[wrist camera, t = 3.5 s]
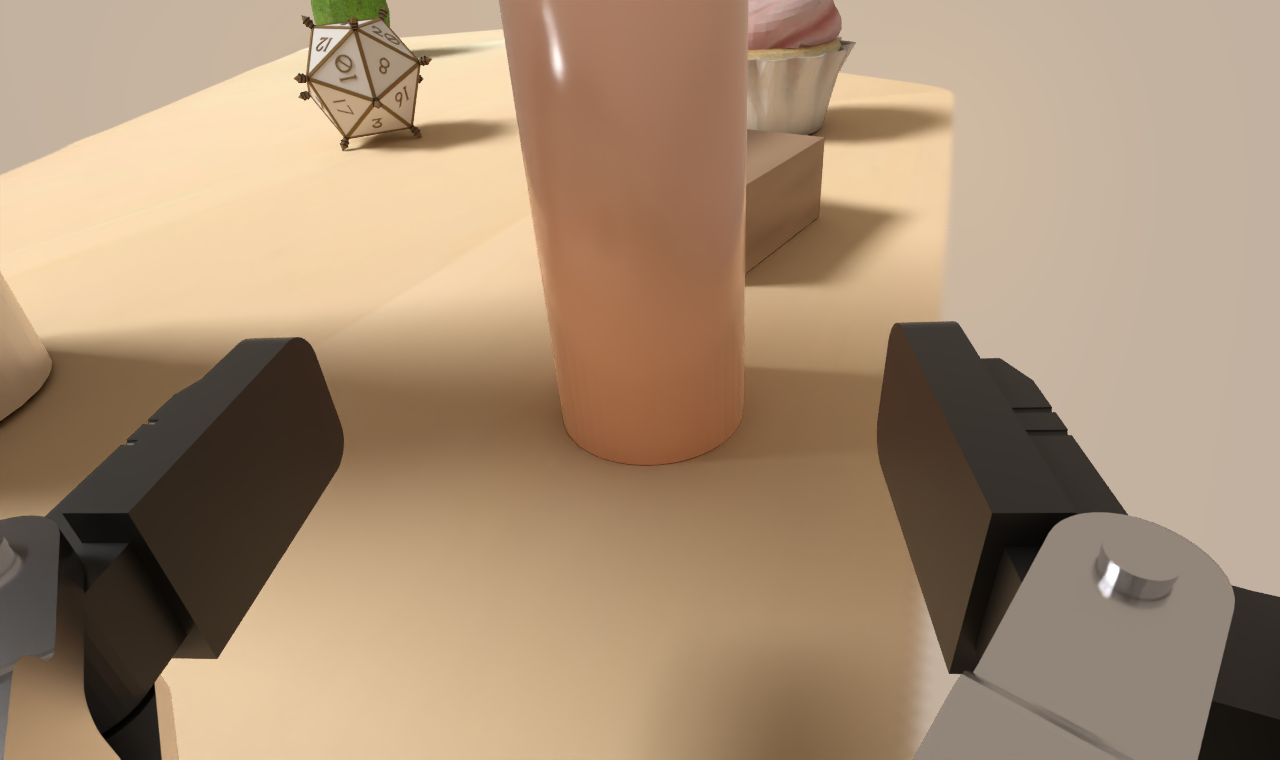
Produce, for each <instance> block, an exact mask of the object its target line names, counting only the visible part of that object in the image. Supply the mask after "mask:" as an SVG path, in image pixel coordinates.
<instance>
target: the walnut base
mask: <svg viewBox="0 0 1280 760" xmlns="http://www.w3.org/2000/svg"><path fill="white" fill-rule="evenodd" d="M824 138H825V137H818V136H808V135H799V134H789V133H779V132H769V131H760V130H750V129H747V166H746V247H745V274H746V273H747V272H748V271H750V270H751V269H752V268H753V267H755V266H756V265H757V264H759V263H760V262H761V261H762V260H764V259H765V258H766V257H768V256H769V255H770V254H771V253H773V252H774V251H775V250H777V249H778V248H779V247H780V246H782V245H783V244H784V243H786V242H787V241H788V240H789V239H791V238H792V237H793V236H795V235H796V234H797V233H798V232H800V231H801V230H802V229H804V228H805V227H806V226H807V225H809V224H810V223H811V222H813V221H814V220H815V219H816V218H818V217H819V210H820V195H821V181H822V167H823V152H824Z"/></svg>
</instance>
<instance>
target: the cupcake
mask: <svg viewBox="0 0 1280 760" xmlns="http://www.w3.org/2000/svg"><path fill="white" fill-rule="evenodd" d="M840 31H841V16H840V14H839V12H838V10H837V8H836V7H835V5H834V2H833V0H749V4H748V85H747V129H750V130H760V131H769V132H779V133H789V134H799V135H809V134H811V133H813V132H816V131H817V130H819V129H820V127H821V126H822V124H823V122H824V119H825V115H826V112H827V108H828V105H829V101H830V97H831V94H832V91H833V88H834V85H835V82H836V79H837V75H838V73H839V71H840V69H841V68H842V66H843V64H844V62H845V61H846V59H847V57H848V55H849V54H850V52H851V50H852V48H853V47H854V45H855V42H850V41H841V39H842V38H841V37H837V36H838V35H839V33H840Z"/></svg>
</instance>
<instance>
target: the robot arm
mask: <svg viewBox="0 0 1280 760" xmlns="http://www.w3.org/2000/svg"><path fill="white" fill-rule="evenodd" d="M51 366H52V360H51V358H50V356H49V354H48V352H47V350H46V349H45V347H44V345H43V344H42V342H41V340H40V338H39V337H38V335H37V333H36V332H35V330H34V328H33V327H32V325H31V323H30V321H29V320H28V318H27V316H26V315H25V313H24V311H23V310H22V308H21V306H20V305H19V303H18V301H17V299H16V298H15V296H14V294H13V293H12V291H11V289H10V288H9V286H8V284H7V282H6V281H5V279H4V277H3V276H2V274H1V272H0V421H1V420H2V419H4V418H5V417H7V416H8V415H9V414H11V413H12V412H13V411H15V410H16V409H18V408H19V407H20V406H22V405H23V404H24V403H25V402H26V401H27V400H28V399H29V398H31V397H32V396H33V395H34V394H35V393H36V392H37V391H38V390H39V389H40V388H41V386H42V385H43V383H44V382H45V381H46V379H47V378H48V376H49V375H50V371H51ZM1051 410H1052V407H1051V405H1050V404H1049V402H1048V401H1047V400H1046V398H1045V397H1044V395H1043V394H1042V393H1041V391H1040V390H1039V388H1038V387H1037V386H1036V384H1035V383H1034V381H1033V380H1032V379H1030V378H1029V377H1027V376H1025V375H1024V374H1023V373H1021V372H1020V371H1018V370H1017V369H1015V368H1014V367H1012V366H1010V365H1009V364H1008V363H1006V362H1005V361H1003V360H1002V359H1000V358H989V359H988V358H987V359H980V357H979V355H978V354H977V352H976V351H975V349H974V347H973V346H972V344H971V343H970V341H969V339H968V338H967V336H966V335H965V333H964V331H963V330H962V328H961V327H960V325H959V324H958V323H957V322H954V321H949V322H911V323H895V324H894V325H893V327H892V329H891V332H890V336H889V342H888V348H887V356H886V363H885V370H884V377H883V385H882V392H881V399H880V406H879V413H878V422H877V445H878V454H879V460H880V464H881V468H882V471H883V474H884V477H885V480H886V483H887V486H888V489H889V492H890V495H891V498H892V501H893V504H894V508H895V511H896V514H897V517H898V520H899V523H900V526H901V529H902V532H903V535H904V538H905V541H906V544H907V547H908V550H909V553H910V556H911V559H912V562H913V565H914V569H915V572H916V575H917V578H918V581H919V584H920V587H921V590H922V593H923V596H924V599H925V602H926V605H927V608H928V611H929V614H930V617H931V620H932V623H933V626H934V629H935V633H936V636H937V639H938V642H939V645H940V648H941V651H942V654H943V657H944V660H945V663H946V666H947V669H948V672H949V674H961V676H960V677H959V679H958V680H957V682H956V683H955V685H954V686H953V688H952V690H951V691H950V693H949V695H948V697H947V699H946V700H945V702H944V704H943V706H942V707H941V709H940V711H939V713H938V715H937V716H936V718H935V720H934V722H933V724H932V725H931V727H930V729H929V731H928V733H927V734H926V736H925V738H924V740H923V742H922V743H921V745H920V747H919V749H918V751H917V752H916V754H915V756H914V758H913V760H1280V597H1277V596H1272V595H1268V594H1264V593H1259V592H1254V591H1251V590H1246V589H1243V588H1239V587H1236V586H1232V585H1231V584H1230V582H1229V580H1228V578H1227V576H1226V575H1225V573H1224V572H1223V571H1222V569H1221V568H1220V567H1219V565H1218V564H1217V563H1216V562H1215V561H1214V560H1213V559H1212V558H1211V557H1210V556H1209V555H1208V554H1206V553H1205V552H1204V551H1203V550H1201V549H1200V548H1199V547H1198V546H1197V545H1195V544H1193V543H1192V542H1190V541H1189V540H1187V539H1186V538H1184V537H1182V536H1181V535H1179V534H1177V533H1175V532H1173V531H1171V530H1169V529H1167V528H1164V527H1162V526H1160V525H1158V524H1155V523H1153V522H1149V521H1146V520H1143V519H1140V518H1136V517H1132V516H1128V514H1127V513H1126V511H1125V510H1124V509H1123V507H1122V506H1121V504H1120V503H1119V502H1118V500H1117V499H1116V497H1115V496H1114V494H1113V493H1112V492H1111V490H1110V489H1109V487H1108V486H1107V485H1106V483H1105V482H1104V481H1103V479H1102V478H1101V476H1100V475H1099V473H1098V472H1097V470H1096V469H1095V468H1094V466H1093V465H1092V463H1091V462H1090V460H1089V459H1088V458H1087V456H1086V455H1085V453H1084V452H1083V451H1082V449H1081V448H1080V446H1079V445H1078V443H1077V442H1076V441H1075V439H1074V438H1073V436H1072V435H1068V434H1067V430H1068V429H1067V428H1066V426H1065V425H1064V424H1063V422H1062V421H1061V419H1060V418H1059V417H1058V415H1057V414H1056V413H1055V412H1053V413H1052V411H1051ZM148 420H149V424H143V425H142V426H141V427H140V428H139V429H138V430H137V431H136V432H135V433H133V434H132V435H131V436H130V437H129V438H128V439H127V445H121V446H120V447H119V448H118V449H116V450H115V451H114V452H113V453H112V454H111V455H110V456H109V457H108V458H107V459H106V460H105V461H104V462H103V463H102V464H100V465H99V466H98V467H97V468H96V469H95V470H94V471H93V472H92V473H91V474H90V475H89V476H88V477H87V478H86V479H85V480H83V481H82V482H81V483H80V484H79V485H78V486H77V487H76V488H75V489H74V490H73V491H72V492H71V493H70V494H69V495H67V496H66V497H65V498H64V499H63V500H62V501H61V502H60V503H59V504H58V505H57V506H56V507H55V508H54V509H53V510H52V511H50V512H49V513H48V514H47V515H46V516H45V517H41V516H20V517H13V518H8V519H4V520H0V760H179V757H178V748H177V740H176V731H175V723H174V714H173V705H172V697H171V692H170V688H169V686H168V685H167V683H166V682H165V680H164V679H163V677H162V676H161V673H162V671H163V670H164V668H165V667H166V666H167V664H168V663H169V661H170V660H171V658H193V659H218V657H219V655H220V654H221V652H222V651H223V649H224V648H225V646H226V644H227V643H228V641H229V640H230V638H231V637H232V635H233V633H234V632H235V630H236V629H237V627H238V625H239V624H240V622H241V621H242V619H243V618H244V616H245V614H246V613H247V611H248V610H249V608H250V607H251V605H252V603H253V602H254V600H255V599H256V597H257V596H258V594H259V592H260V591H261V589H262V588H263V586H264V585H265V583H266V581H267V580H268V578H269V577H270V575H271V574H272V572H273V570H274V569H275V567H276V566H277V564H278V563H279V561H280V559H281V558H282V556H283V555H284V553H285V552H286V550H287V548H288V547H289V545H290V544H291V542H292V540H293V539H294V537H295V536H296V534H297V533H298V531H299V529H300V528H301V526H302V525H303V523H304V522H305V520H306V518H307V517H308V515H309V514H310V512H311V511H312V509H313V507H314V506H315V504H316V503H317V501H318V500H319V498H320V496H321V495H322V493H323V492H324V490H325V489H326V487H327V485H328V484H329V482H330V481H331V479H332V478H333V476H334V474H335V473H336V471H337V469H338V468H339V465H340V463H341V459H342V455H343V447H344V438H343V431H342V427H341V423H340V420H339V418H338V415H337V412H336V409H335V407H334V404H333V401H332V398H331V396H330V393H329V390H328V387H327V385H326V382H325V379H324V376H323V374H322V371H321V368H320V365H319V362H318V360H317V357H316V354H315V352H314V350H313V348H312V346H311V345H310V344H309V343H308V342H307V341H306V340H305V339H303V338H299V337H293V338H255V339H245V340H243V341H241V342H240V343H239V344H238V345H237V346H236V347H235V348H234V349H232V350H231V351H230V352H229V353H228V354H227V355H226V356H225V357H224V358H223V359H222V360H221V361H220V362H219V363H218V364H217V365H216V366H215V367H214V368H213V369H212V370H211V371H210V372H208V373H207V374H206V375H205V376H204V377H203V378H202V379H201V380H199V381H198V382H196V383H194V384H193V385H191V386H189V387H187V388H186V389H184V390H182V391H181V392H179V393H177V394H175V395H174V396H173V397H172V398H171V399H170V400H169V401H168V402H166V403H165V404H164V405H163V406H162V407H161V408H160V409H159V410H158V411H157V412H156V413H155V414H154V415H153V416H152V417H151V418H149V419H148Z"/></svg>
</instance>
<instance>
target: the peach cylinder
mask: <svg viewBox="0 0 1280 760" xmlns="http://www.w3.org/2000/svg"><path fill="white" fill-rule="evenodd" d="M748 4H749V0H499V5H500V12H501V18H502V24H503V31H504V38H505V44H506V50H507V57H508V63H509V70H510V76H511V83H512V89H513V96H514V102H515V109H516V115H517V122H518V128H519V135H520V141H521V148H522V154H523V161H524V167H525V174H526V180H527V187H528V193H529V200H530V206H531V213H532V219H533V226H534V232H535V239H536V245H537V252H538V258H539V265H540V271H541V278H542V284H543V291H544V297H545V304H546V310H547V317H548V323H549V330H550V336H551V343H552V349H553V356H554V362H555V369H556V375H557V382H558V388H559V395H560V401H561V408H562V414H563V421H564V425H565V428H566V430H567V432H568V434H569V436H570V437H571V438H572V439H573V441H574V442H576V443H577V444H578V445H579V446H580V447H581V448H583V449H585V450H586V451H588V452H589V453H592V454H594V455H596V456H598V457H601V458H604V459H606V460H610V461H614V462H618V463H624V464H631V465H660V464H669V463H675V462H680V461H684V460H687V459H691V458H694V457H697V456H699V455H702V454H704V453H707V452H709V451H710V450H712V449H714V448H716V447H718V446H719V445H720V444H722V443H723V442H725V441H726V440H727V439H728V438H729V437H730V436H731V435H732V434H733V433H734V432H735V430H736V429H737V428H738V426H739V424H740V422H741V419H742V416H743V408H744V328H745V247H746V166H747V85H748Z"/></svg>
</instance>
